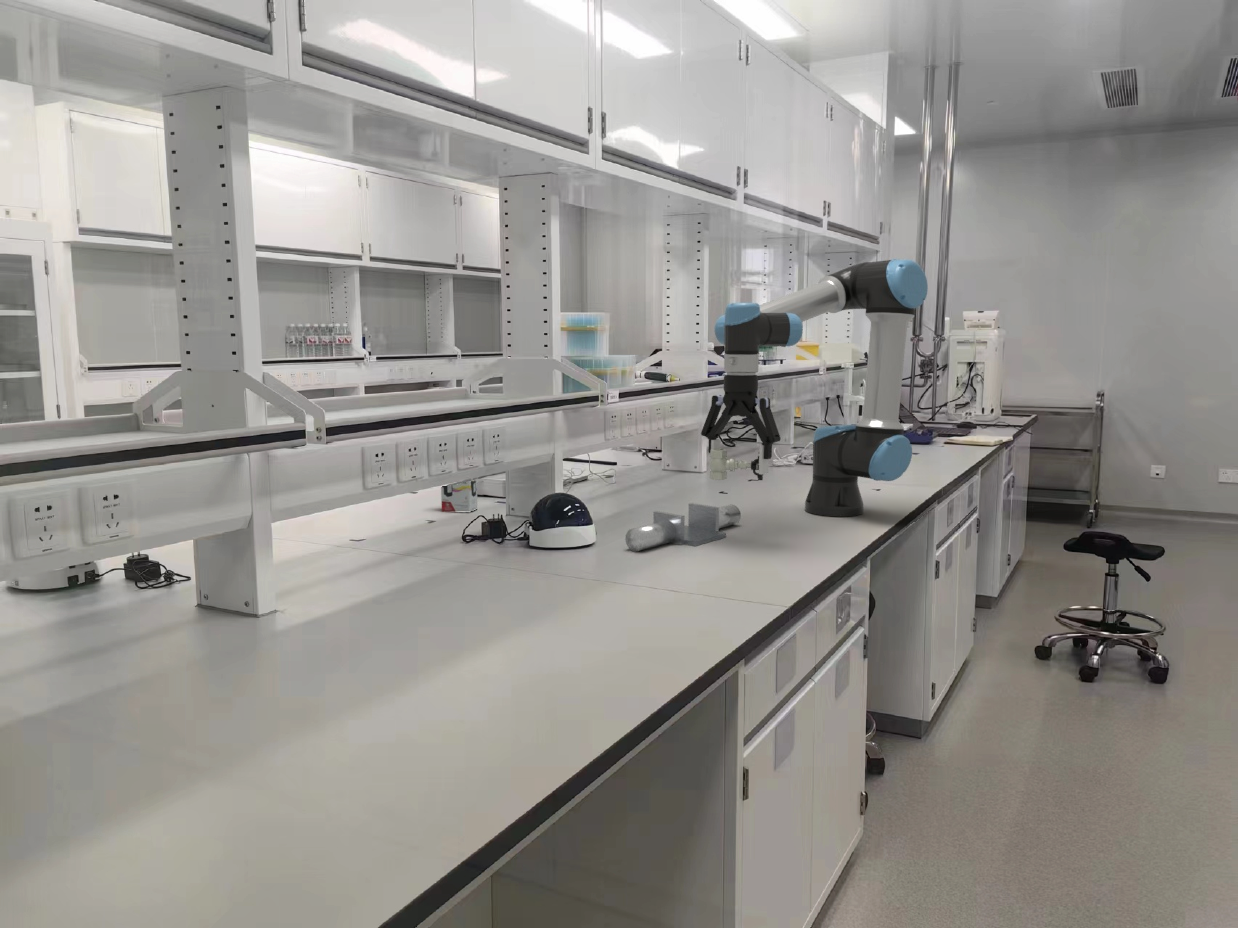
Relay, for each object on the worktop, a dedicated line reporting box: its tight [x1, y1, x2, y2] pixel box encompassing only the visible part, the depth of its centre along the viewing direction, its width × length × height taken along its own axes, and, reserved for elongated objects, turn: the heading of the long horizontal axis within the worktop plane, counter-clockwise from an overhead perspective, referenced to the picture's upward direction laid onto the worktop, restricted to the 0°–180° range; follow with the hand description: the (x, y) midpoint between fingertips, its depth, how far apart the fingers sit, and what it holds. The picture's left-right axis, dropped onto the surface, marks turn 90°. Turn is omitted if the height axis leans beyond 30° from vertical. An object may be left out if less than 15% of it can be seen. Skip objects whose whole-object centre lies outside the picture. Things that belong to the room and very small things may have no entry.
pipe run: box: [624, 502, 742, 552], centre depth 204 cm, size 37×14×6 cm, turn 138°
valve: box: [708, 448, 764, 481], centre depth 197 cm, size 7×7×12 cm
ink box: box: [440, 479, 478, 512], centre depth 234 cm, size 9×5×12 cm, turn 73°
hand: (738, 470), depth 197 cm, fingers closed on valve, 12 cm apart
